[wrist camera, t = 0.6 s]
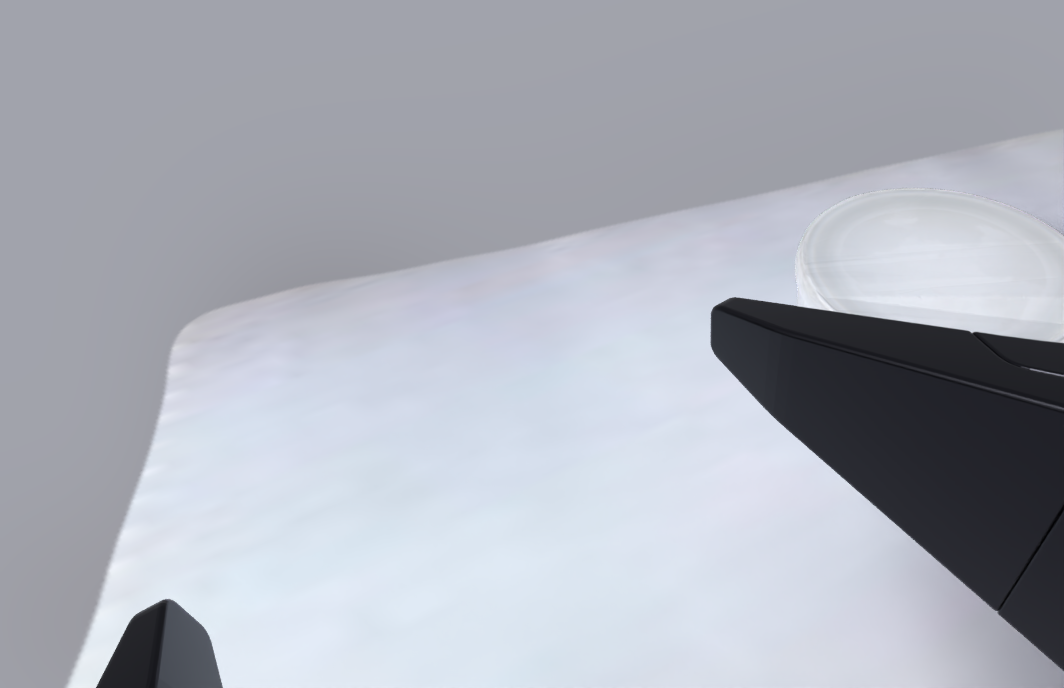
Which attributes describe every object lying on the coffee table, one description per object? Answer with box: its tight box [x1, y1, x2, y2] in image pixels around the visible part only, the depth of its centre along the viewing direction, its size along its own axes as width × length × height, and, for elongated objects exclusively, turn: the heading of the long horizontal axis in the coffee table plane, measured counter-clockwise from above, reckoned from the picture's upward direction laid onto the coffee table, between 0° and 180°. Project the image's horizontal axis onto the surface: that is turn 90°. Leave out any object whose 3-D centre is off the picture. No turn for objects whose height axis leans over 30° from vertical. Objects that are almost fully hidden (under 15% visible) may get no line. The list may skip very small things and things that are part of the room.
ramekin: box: [795, 188, 1064, 343], centre depth 27 cm, size 11×11×5 cm
